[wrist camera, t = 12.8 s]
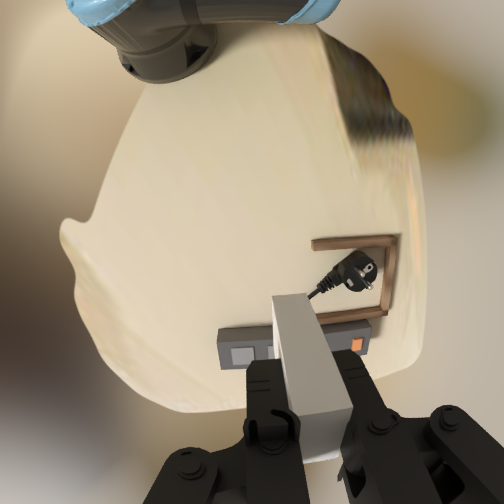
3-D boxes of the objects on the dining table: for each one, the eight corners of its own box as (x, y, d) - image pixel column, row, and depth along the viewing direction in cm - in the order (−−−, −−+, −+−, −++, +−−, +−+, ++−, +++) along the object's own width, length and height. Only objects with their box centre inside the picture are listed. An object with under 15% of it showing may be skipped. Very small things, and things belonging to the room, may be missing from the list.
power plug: (314, 308, 47) (370, 265, 45) (325, 332, 39) (390, 283, 37) (295, 285, 45) (354, 239, 43) (304, 308, 38) (374, 254, 36)
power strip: (218, 328, 47) (216, 344, 43) (363, 315, 48) (373, 328, 43) (222, 355, 49) (220, 371, 45) (359, 342, 49) (367, 356, 45)
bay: (311, 240, 43) (313, 243, 41) (392, 235, 43) (397, 238, 41) (309, 320, 47) (311, 325, 46) (384, 311, 47) (387, 315, 46)
